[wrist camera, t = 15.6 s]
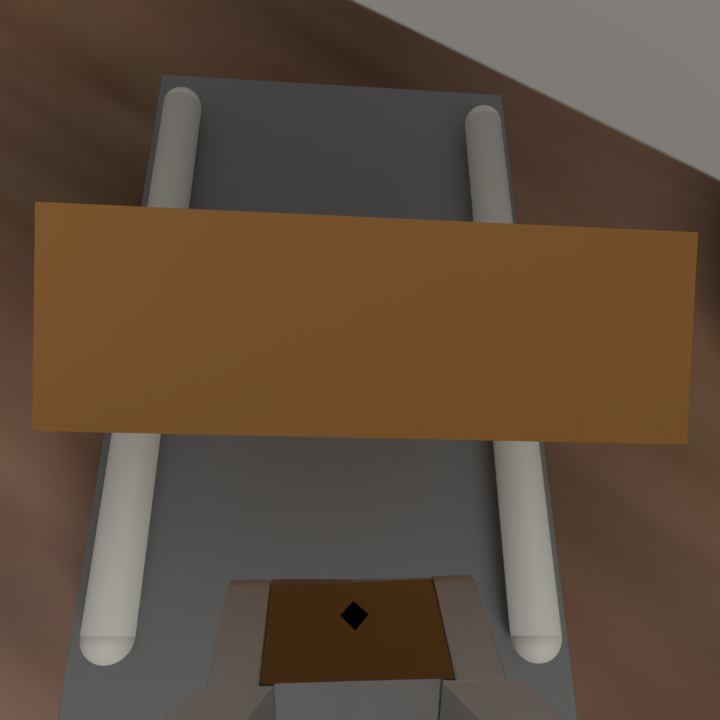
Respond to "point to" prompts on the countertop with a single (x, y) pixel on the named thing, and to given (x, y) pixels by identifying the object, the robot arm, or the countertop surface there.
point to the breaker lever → (358, 327)
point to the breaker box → (310, 454)
